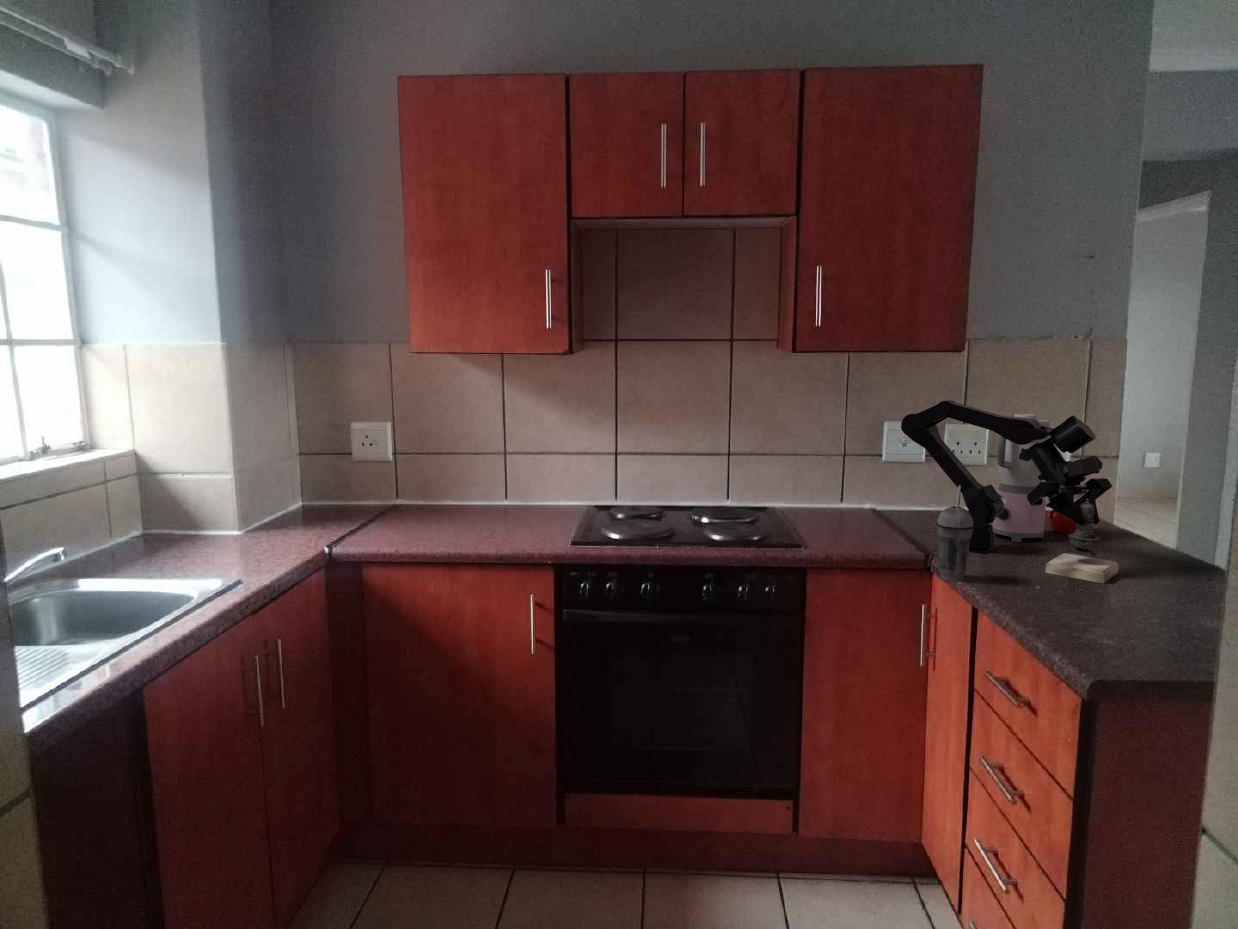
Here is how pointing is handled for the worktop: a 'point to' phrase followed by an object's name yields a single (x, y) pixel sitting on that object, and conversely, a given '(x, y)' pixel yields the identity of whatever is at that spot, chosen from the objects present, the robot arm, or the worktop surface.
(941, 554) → the beverage cup
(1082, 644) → the worktop surface
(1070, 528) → the red tomato
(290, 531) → the worktop surface
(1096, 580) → the wooden tray
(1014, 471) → the blender
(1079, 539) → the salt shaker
